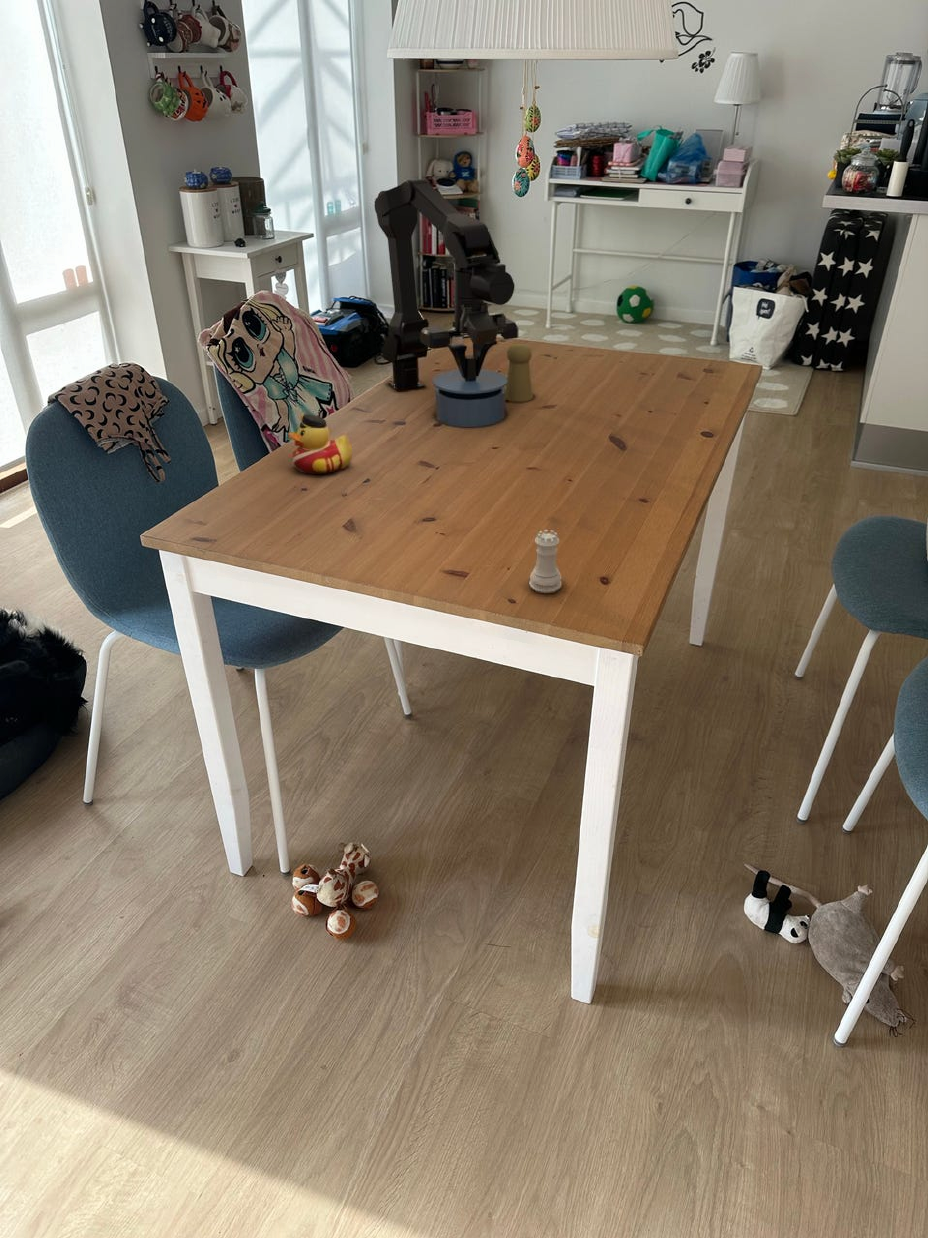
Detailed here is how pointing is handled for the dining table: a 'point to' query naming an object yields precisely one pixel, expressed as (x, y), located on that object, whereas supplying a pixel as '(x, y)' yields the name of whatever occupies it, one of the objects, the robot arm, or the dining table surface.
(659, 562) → the dining table surface
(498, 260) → the robot arm
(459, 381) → the lid
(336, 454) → the toy
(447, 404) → the basin
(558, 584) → the rook chess piece
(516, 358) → the tan pawn
